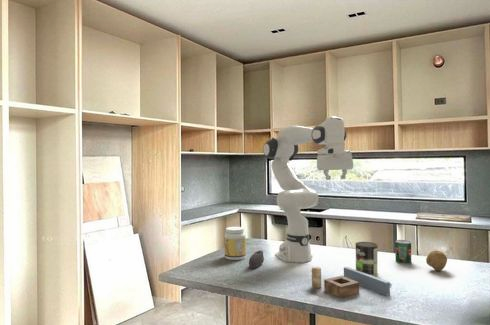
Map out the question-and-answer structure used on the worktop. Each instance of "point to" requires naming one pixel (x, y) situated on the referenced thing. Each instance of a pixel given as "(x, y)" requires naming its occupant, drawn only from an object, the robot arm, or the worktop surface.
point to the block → (341, 286)
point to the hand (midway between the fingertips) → (335, 179)
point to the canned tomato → (403, 251)
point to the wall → (368, 280)
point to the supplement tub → (235, 243)
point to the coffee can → (366, 257)
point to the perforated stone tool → (256, 259)
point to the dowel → (316, 277)
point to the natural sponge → (436, 260)
